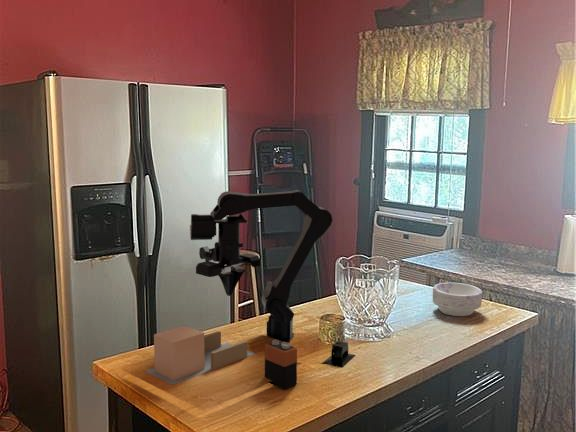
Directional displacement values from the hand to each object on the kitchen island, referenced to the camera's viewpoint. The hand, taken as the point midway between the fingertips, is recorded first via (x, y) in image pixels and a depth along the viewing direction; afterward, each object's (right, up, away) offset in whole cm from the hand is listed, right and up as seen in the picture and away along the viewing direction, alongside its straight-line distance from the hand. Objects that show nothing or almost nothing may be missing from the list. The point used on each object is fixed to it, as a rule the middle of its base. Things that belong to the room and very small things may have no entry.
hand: (229, 295), depth 167 cm
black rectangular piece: (+29, -16, -9) cm, 34 cm away
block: (-10, -15, -20) cm, 27 cm away
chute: (-5, -16, -15) cm, 22 cm away
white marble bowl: (+70, -9, +30) cm, 77 cm away
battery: (+14, -17, -24) cm, 33 cm away
